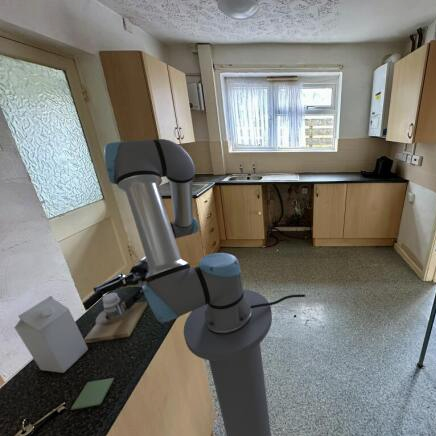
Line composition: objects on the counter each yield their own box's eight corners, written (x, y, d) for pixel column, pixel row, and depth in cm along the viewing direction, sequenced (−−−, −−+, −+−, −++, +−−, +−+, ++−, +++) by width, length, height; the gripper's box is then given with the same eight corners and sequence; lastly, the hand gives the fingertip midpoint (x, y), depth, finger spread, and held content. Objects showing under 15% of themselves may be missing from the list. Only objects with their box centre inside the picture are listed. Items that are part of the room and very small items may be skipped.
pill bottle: (119, 310, 83) (111, 290, 79) (129, 312, 81) (121, 292, 78) (105, 320, 78) (97, 299, 75) (116, 323, 77) (107, 302, 74)
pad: (114, 379, 60) (113, 377, 59) (100, 404, 54) (99, 403, 54) (88, 383, 59) (87, 382, 59) (71, 410, 53) (70, 408, 53)
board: (149, 301, 86) (148, 298, 85) (129, 336, 72) (127, 333, 71) (108, 307, 84) (107, 303, 84) (79, 344, 70) (78, 340, 69)
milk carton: (40, 370, 62) (6, 314, 55) (67, 347, 69) (39, 294, 62) (63, 373, 61) (31, 317, 54) (89, 349, 68) (63, 296, 61)
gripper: (178, 275, 96) (147, 314, 76) (118, 276, 97) (72, 316, 77) (174, 259, 93) (141, 296, 73) (112, 261, 94) (63, 297, 74)
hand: (105, 306), depth 75 cm, fingers open, 13 cm apart
